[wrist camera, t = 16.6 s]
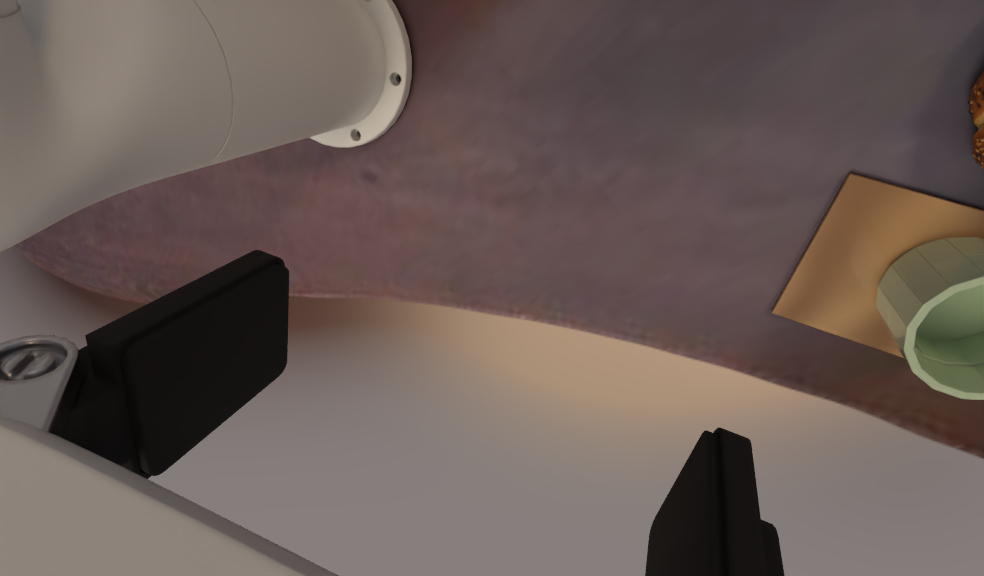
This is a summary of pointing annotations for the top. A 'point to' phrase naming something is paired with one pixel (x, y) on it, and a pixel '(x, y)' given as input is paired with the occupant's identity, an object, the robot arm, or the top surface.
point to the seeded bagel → (978, 118)
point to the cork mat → (866, 255)
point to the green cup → (939, 313)
